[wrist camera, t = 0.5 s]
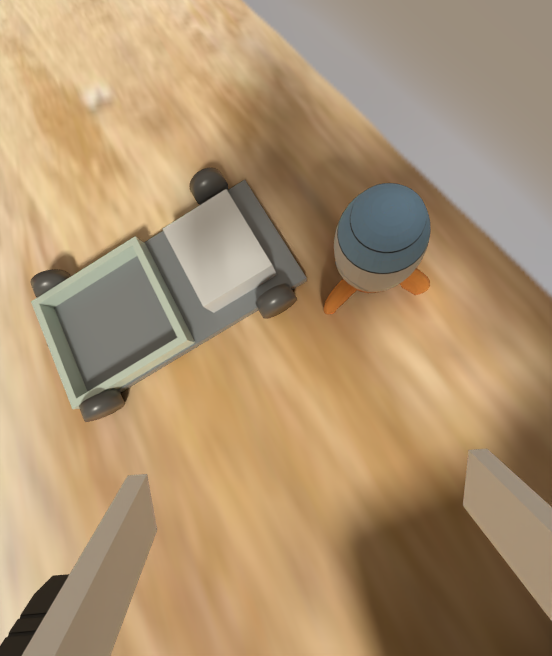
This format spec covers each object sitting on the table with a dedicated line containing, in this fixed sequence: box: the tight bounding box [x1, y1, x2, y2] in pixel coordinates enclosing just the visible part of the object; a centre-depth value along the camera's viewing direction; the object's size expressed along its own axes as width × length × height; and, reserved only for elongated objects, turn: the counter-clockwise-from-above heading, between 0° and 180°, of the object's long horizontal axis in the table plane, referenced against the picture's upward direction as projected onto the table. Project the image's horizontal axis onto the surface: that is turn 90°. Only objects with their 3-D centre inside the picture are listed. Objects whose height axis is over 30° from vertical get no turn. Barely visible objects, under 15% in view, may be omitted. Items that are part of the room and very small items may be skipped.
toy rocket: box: [323, 183, 430, 314], centre depth 28 cm, size 10×11×15 cm
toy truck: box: [31, 168, 307, 422], centre depth 35 cm, size 17×28×4 cm, turn 120°
